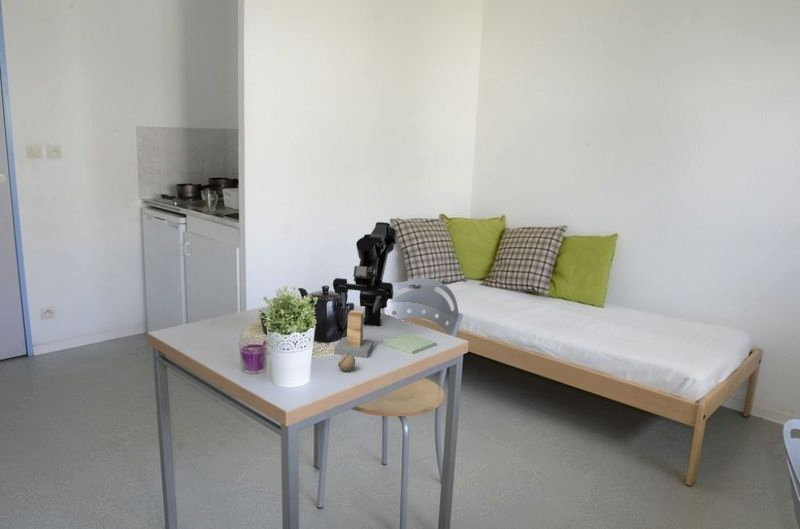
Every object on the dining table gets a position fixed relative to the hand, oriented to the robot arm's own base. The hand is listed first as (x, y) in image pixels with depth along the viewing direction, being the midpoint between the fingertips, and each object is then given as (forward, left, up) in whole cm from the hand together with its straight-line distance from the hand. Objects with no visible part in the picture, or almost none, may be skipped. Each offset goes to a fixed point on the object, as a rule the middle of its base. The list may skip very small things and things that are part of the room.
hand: (358, 311), depth 186 cm
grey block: (+4, -1, -11) cm, 12 cm away
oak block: (+4, -1, -9) cm, 10 cm away
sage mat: (-4, +16, -11) cm, 20 cm away
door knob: (+20, -2, -11) cm, 23 cm away
